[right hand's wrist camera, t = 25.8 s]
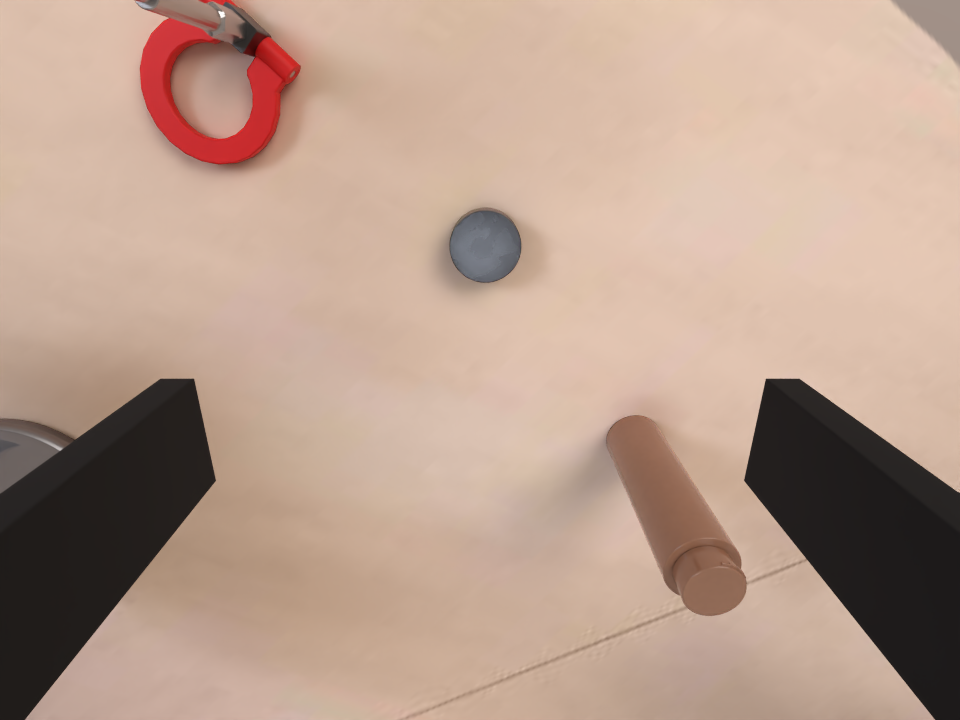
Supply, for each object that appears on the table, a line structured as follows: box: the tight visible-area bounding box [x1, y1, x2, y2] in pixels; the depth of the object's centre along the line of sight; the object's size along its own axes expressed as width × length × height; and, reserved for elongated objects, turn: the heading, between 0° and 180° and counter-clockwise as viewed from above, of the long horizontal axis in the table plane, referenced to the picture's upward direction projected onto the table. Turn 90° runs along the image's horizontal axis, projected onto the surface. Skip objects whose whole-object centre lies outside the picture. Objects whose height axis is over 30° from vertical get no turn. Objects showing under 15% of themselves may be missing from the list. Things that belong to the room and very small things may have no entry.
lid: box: [450, 208, 521, 282], centre depth 36 cm, size 5×5×2 cm
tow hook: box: [135, 0, 300, 164], centre depth 28 cm, size 8×13×9 cm
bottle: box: [607, 416, 747, 616], centre depth 36 cm, size 4×4×16 cm
